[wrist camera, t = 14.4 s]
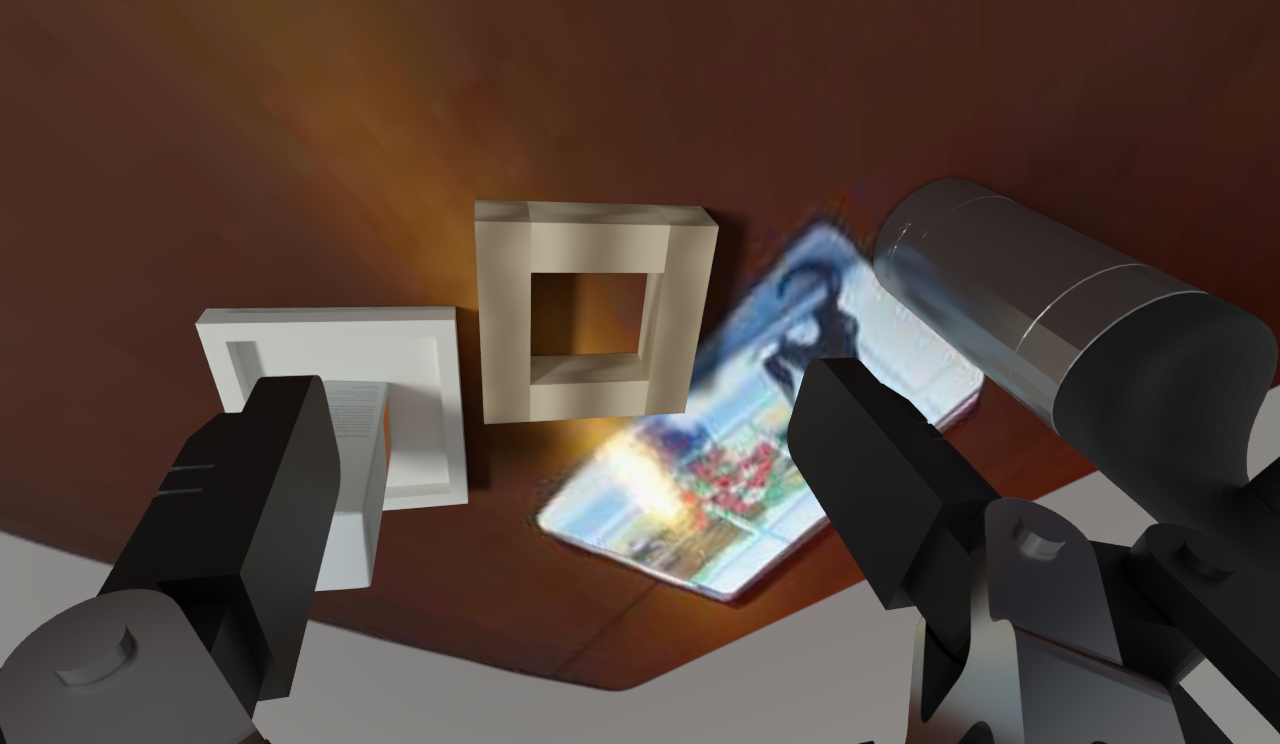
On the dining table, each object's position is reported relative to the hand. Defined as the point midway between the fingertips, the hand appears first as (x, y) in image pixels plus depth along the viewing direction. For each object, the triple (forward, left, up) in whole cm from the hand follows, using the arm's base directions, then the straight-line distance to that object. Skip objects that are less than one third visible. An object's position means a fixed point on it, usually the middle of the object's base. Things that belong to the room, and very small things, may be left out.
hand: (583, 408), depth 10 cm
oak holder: (-5, +13, -28) cm, 31 cm away
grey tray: (+11, +21, -28) cm, 37 cm away
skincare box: (+10, +21, -28) cm, 36 cm away
